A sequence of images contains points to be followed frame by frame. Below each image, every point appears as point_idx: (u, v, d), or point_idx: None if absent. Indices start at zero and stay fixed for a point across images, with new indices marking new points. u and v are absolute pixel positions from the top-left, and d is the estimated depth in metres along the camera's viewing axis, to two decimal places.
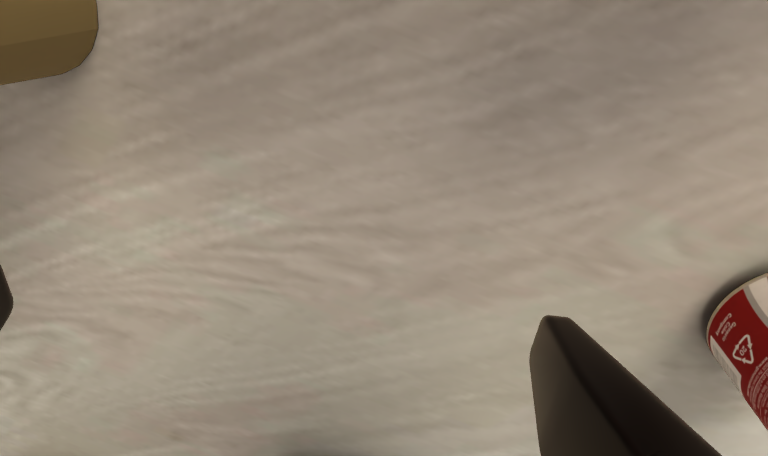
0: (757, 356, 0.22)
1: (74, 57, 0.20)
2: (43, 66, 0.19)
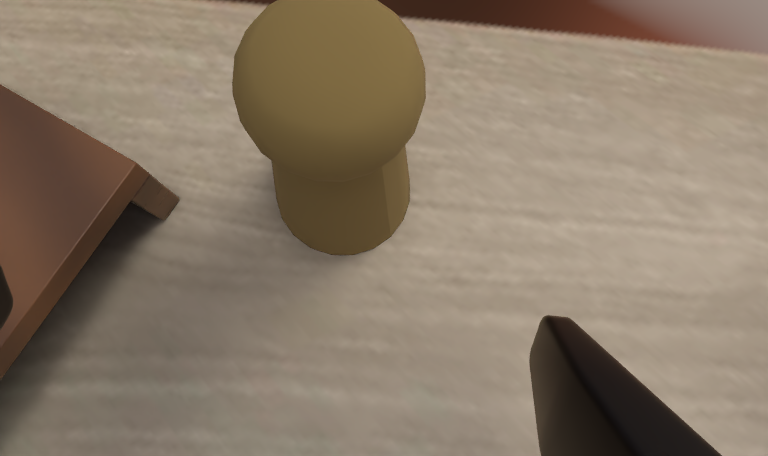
0: None
1: (365, 245, 0.22)
2: (359, 234, 0.20)
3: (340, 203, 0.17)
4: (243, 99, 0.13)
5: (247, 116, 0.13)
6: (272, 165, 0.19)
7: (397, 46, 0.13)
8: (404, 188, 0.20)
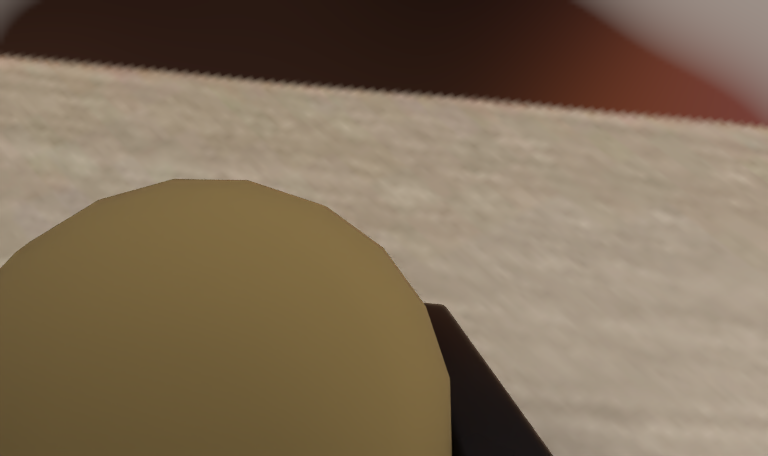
0: None
1: None
2: None
3: None
4: None
5: None
6: None
7: (373, 400, 0.04)
8: None
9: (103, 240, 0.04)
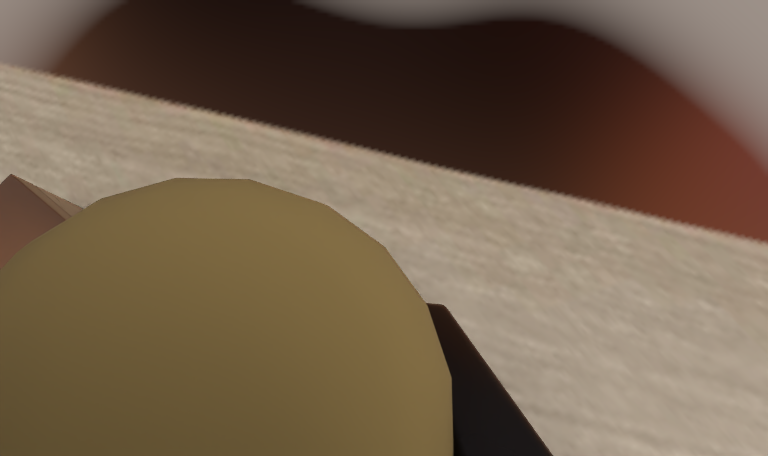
0: None
1: None
2: None
3: None
4: None
5: None
6: None
7: (375, 399, 0.04)
8: None
9: (106, 238, 0.04)
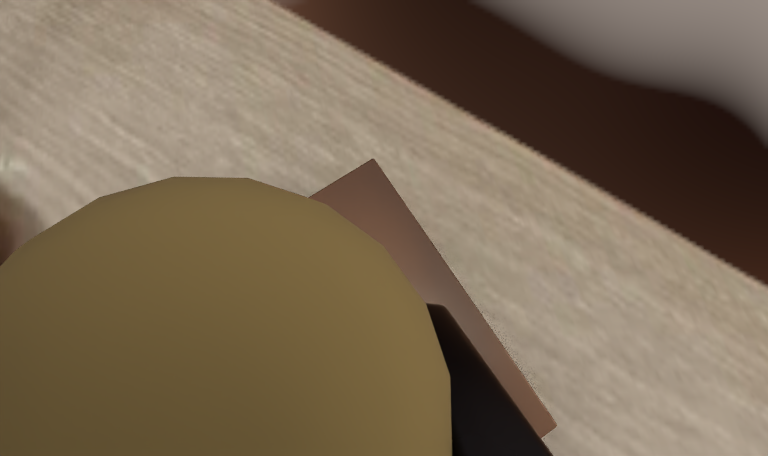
0: None
1: None
2: None
3: None
4: None
5: None
6: None
7: (374, 397, 0.04)
8: None
9: (104, 237, 0.04)
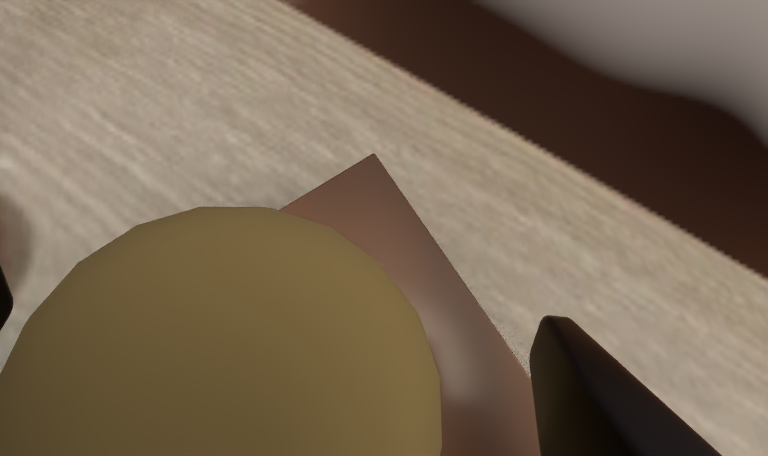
0: None
1: None
2: None
3: None
4: None
5: None
6: None
7: (374, 396, 0.05)
8: None
9: (147, 262, 0.05)
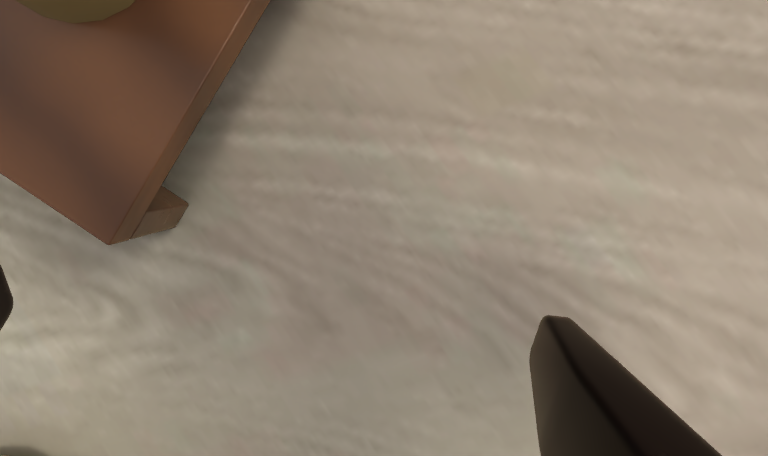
0: None
1: None
2: None
3: None
4: None
5: None
6: None
7: None
8: None
9: None
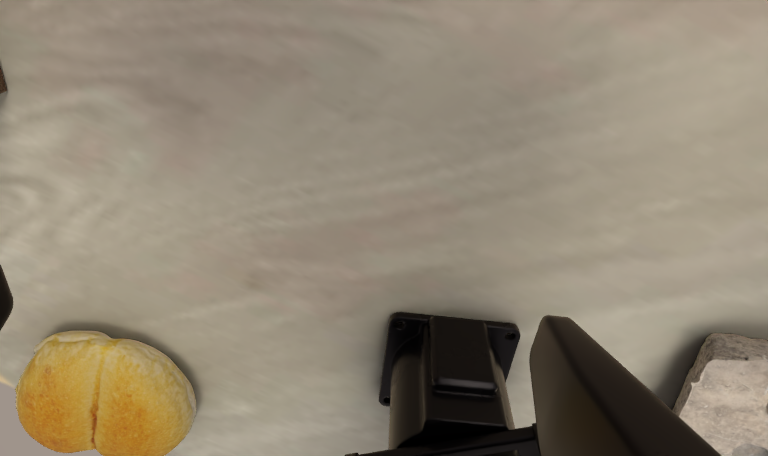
0: None
1: None
2: None
3: None
4: None
5: None
6: None
7: None
8: None
9: None
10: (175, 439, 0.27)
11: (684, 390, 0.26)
